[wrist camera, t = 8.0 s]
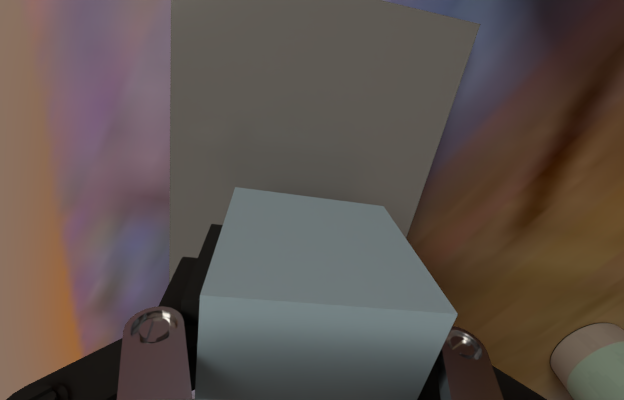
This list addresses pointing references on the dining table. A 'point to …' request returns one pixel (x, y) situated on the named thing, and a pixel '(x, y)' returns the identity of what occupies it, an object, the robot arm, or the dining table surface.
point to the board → (306, 104)
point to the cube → (316, 304)
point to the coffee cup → (592, 362)
